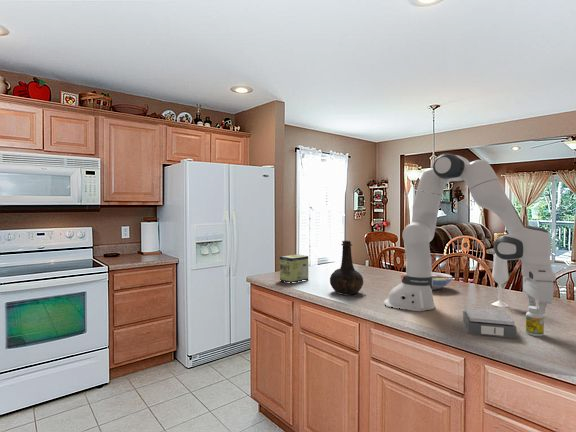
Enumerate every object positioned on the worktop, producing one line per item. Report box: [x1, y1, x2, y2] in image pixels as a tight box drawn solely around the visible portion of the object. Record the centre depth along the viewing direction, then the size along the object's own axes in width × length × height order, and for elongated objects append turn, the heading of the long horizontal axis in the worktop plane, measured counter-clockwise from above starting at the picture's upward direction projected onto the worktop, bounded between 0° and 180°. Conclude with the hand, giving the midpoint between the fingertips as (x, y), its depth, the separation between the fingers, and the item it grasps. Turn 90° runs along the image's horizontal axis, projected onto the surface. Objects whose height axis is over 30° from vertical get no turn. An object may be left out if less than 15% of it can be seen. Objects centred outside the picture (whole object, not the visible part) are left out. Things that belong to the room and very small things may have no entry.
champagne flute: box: [491, 252, 510, 308], centre depth 167 cm, size 7×7×24 cm
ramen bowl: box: [432, 271, 458, 291], centre depth 201 cm, size 25×23×8 cm
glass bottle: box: [329, 240, 364, 295], centre depth 191 cm, size 18×18×28 cm
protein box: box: [279, 254, 309, 283], centre depth 222 cm, size 10×16×16 cm
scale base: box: [462, 310, 517, 339], centre depth 134 cm, size 15×16×4 cm
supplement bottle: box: [525, 305, 545, 337], centre depth 129 cm, size 5×5×10 cm
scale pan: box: [464, 307, 515, 325], centre depth 134 cm, size 14×14×1 cm
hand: (536, 309), depth 129 cm, fingers open, 8 cm apart
